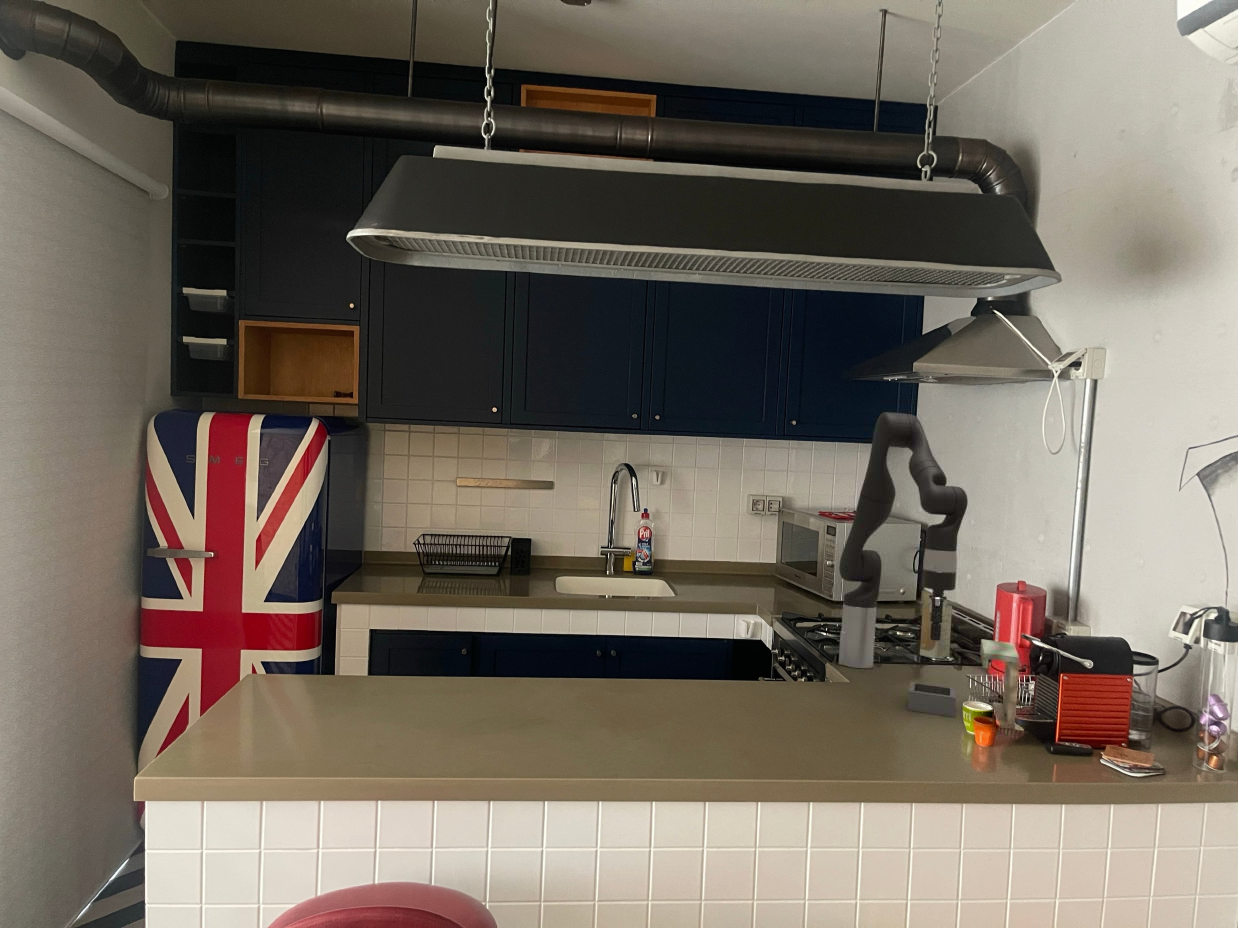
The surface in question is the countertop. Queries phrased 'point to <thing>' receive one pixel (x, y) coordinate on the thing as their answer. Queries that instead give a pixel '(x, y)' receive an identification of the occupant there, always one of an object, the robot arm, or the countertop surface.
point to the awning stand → (1011, 658)
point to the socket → (932, 699)
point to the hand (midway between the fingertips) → (935, 636)
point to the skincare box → (943, 645)
